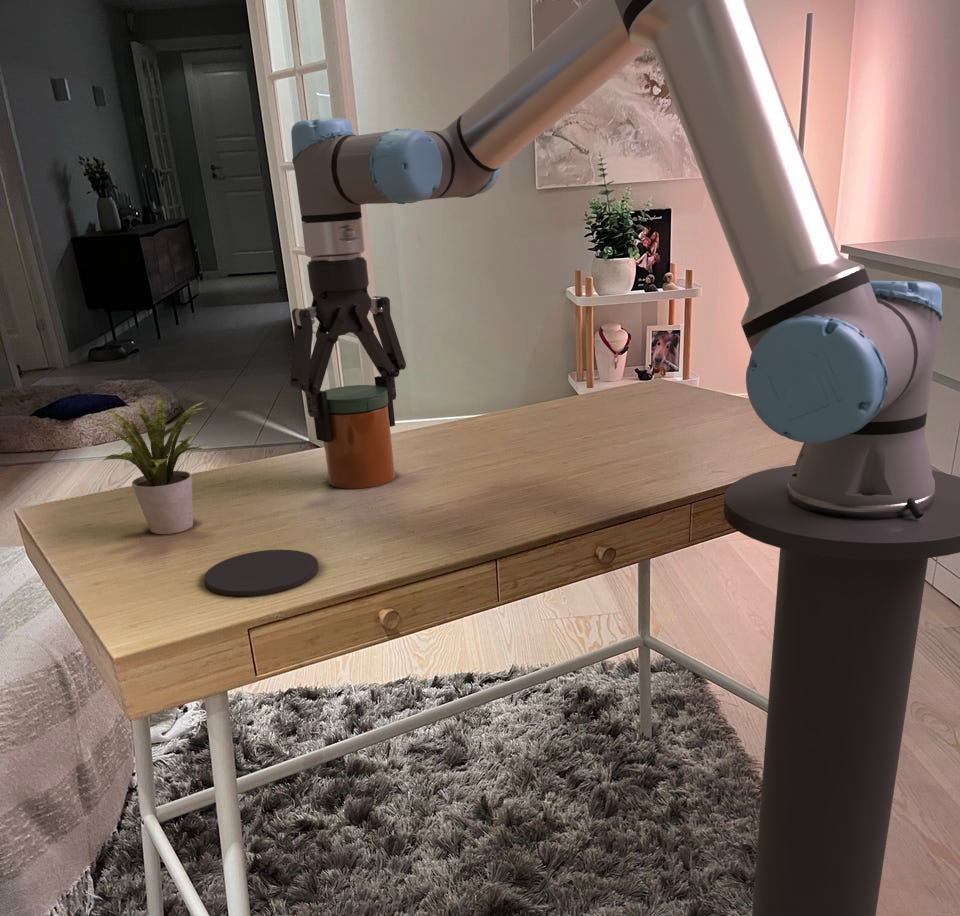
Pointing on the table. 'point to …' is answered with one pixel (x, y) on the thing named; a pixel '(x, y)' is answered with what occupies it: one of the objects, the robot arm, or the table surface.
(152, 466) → the house plant
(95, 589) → the table surface
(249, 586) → the coaster
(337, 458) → the jar
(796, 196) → the robot arm
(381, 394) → the jar lid
